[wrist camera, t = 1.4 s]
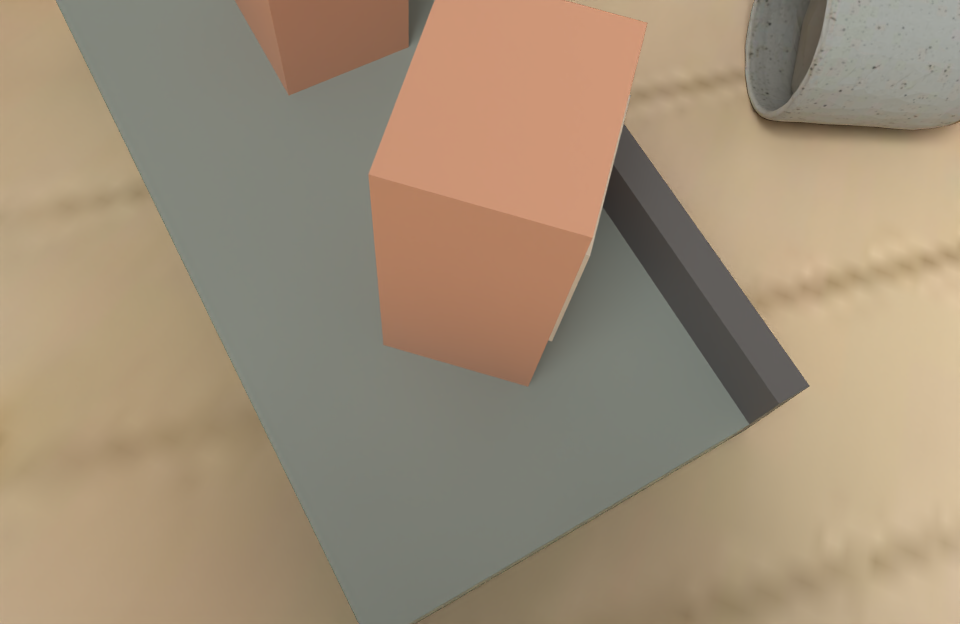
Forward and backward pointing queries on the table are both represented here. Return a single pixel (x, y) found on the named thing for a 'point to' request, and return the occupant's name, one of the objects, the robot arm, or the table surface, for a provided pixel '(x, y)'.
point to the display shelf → (358, 330)
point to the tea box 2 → (497, 177)
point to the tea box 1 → (325, 35)
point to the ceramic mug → (855, 62)
